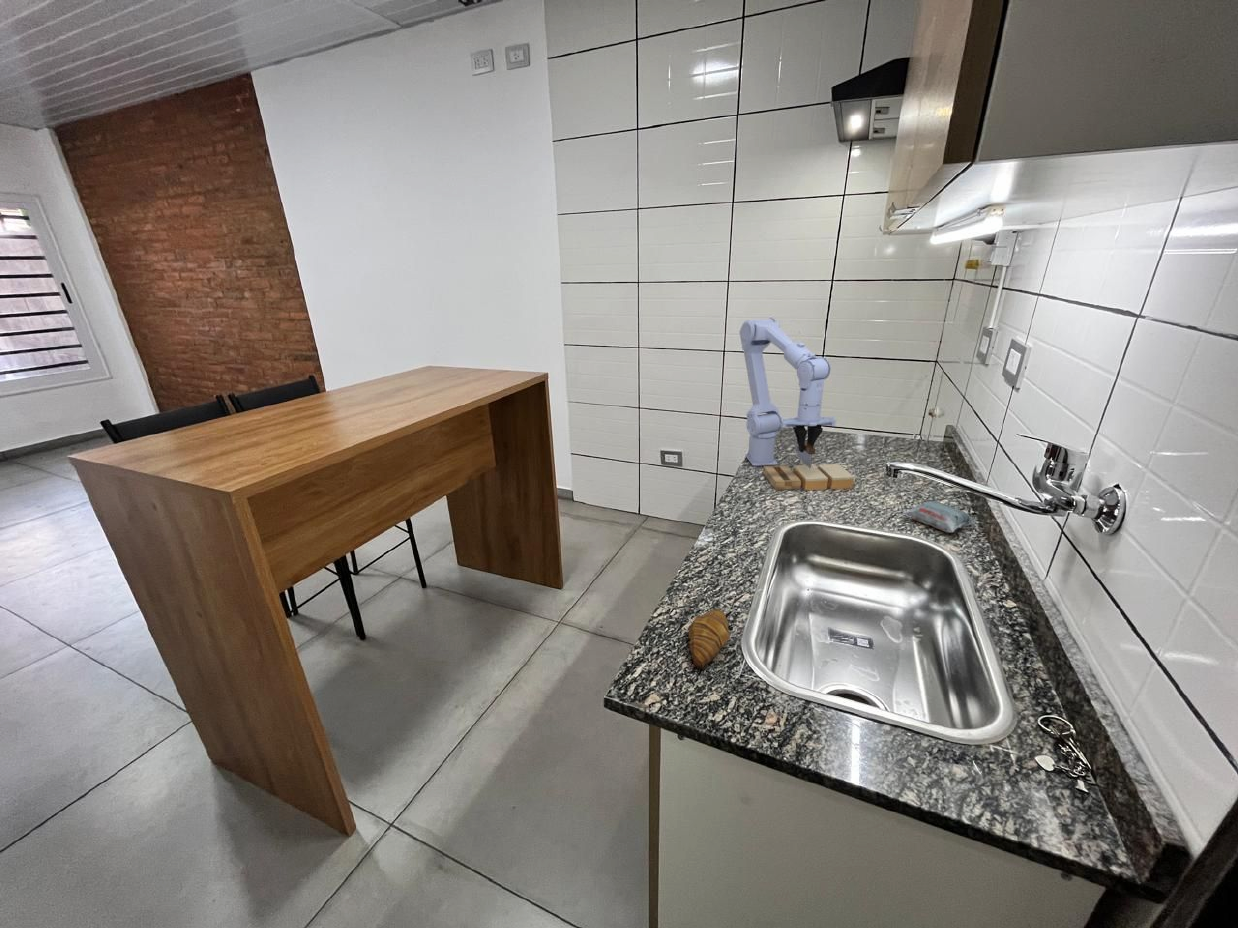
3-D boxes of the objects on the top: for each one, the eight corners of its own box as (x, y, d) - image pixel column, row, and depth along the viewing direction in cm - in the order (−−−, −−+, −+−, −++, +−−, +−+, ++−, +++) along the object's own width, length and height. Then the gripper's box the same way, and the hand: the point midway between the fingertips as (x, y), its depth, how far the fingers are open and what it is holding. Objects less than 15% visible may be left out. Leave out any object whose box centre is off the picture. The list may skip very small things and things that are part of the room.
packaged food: (951, 541, 106) (956, 521, 105) (900, 519, 116) (904, 501, 114) (974, 531, 110) (979, 512, 108) (923, 511, 120) (927, 493, 118)
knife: (795, 455, 141) (796, 437, 139) (800, 455, 141) (802, 437, 139) (807, 468, 132) (809, 449, 130) (813, 468, 132) (815, 448, 130)
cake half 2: (816, 475, 143) (818, 464, 141) (837, 474, 143) (838, 463, 141) (830, 489, 133) (832, 477, 132) (852, 488, 133) (854, 477, 132)
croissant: (700, 613, 87) (700, 590, 86) (737, 622, 85) (739, 599, 83) (676, 664, 76) (676, 639, 74) (718, 677, 73) (719, 652, 71)
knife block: (762, 473, 146) (763, 465, 145) (786, 472, 146) (786, 464, 145) (775, 490, 134) (775, 481, 134) (800, 489, 134) (801, 480, 134)
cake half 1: (792, 476, 143) (793, 465, 142) (812, 475, 143) (814, 464, 142) (804, 490, 134) (806, 478, 132) (826, 489, 133) (828, 478, 132)
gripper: (787, 408, 127) (783, 456, 132) (843, 406, 127) (836, 454, 132) (779, 402, 134) (775, 448, 138) (832, 400, 133) (826, 446, 138)
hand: (804, 451), depth 136 cm, fingers closed on knife, 1 cm apart
